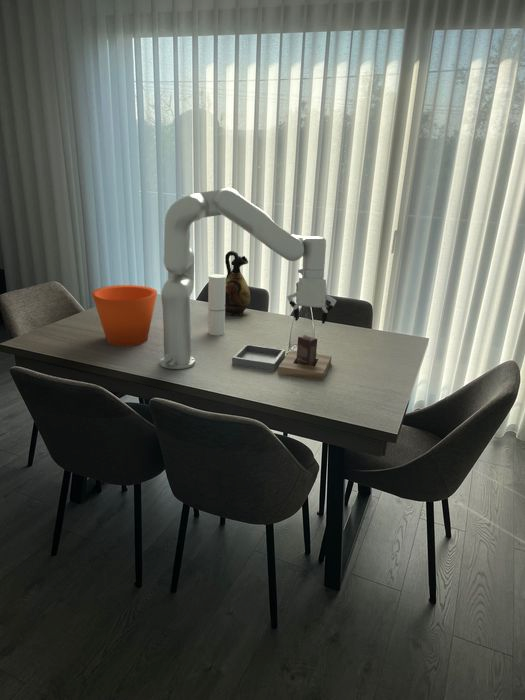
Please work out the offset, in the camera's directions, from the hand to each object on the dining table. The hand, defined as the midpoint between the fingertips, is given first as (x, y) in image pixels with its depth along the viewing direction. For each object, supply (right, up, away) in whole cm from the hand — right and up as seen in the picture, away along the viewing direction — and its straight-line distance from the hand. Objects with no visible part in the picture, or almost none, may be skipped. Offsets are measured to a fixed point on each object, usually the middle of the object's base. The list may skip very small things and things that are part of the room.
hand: (310, 321), depth 182 cm
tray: (-18, -14, +12) cm, 26 cm away
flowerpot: (-72, -6, +28) cm, 78 cm away
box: (-1, -17, +6) cm, 19 cm away
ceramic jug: (-31, +8, +72) cm, 79 cm away
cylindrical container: (-37, -3, +41) cm, 55 cm away
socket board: (-1, -17, +6) cm, 18 cm away
